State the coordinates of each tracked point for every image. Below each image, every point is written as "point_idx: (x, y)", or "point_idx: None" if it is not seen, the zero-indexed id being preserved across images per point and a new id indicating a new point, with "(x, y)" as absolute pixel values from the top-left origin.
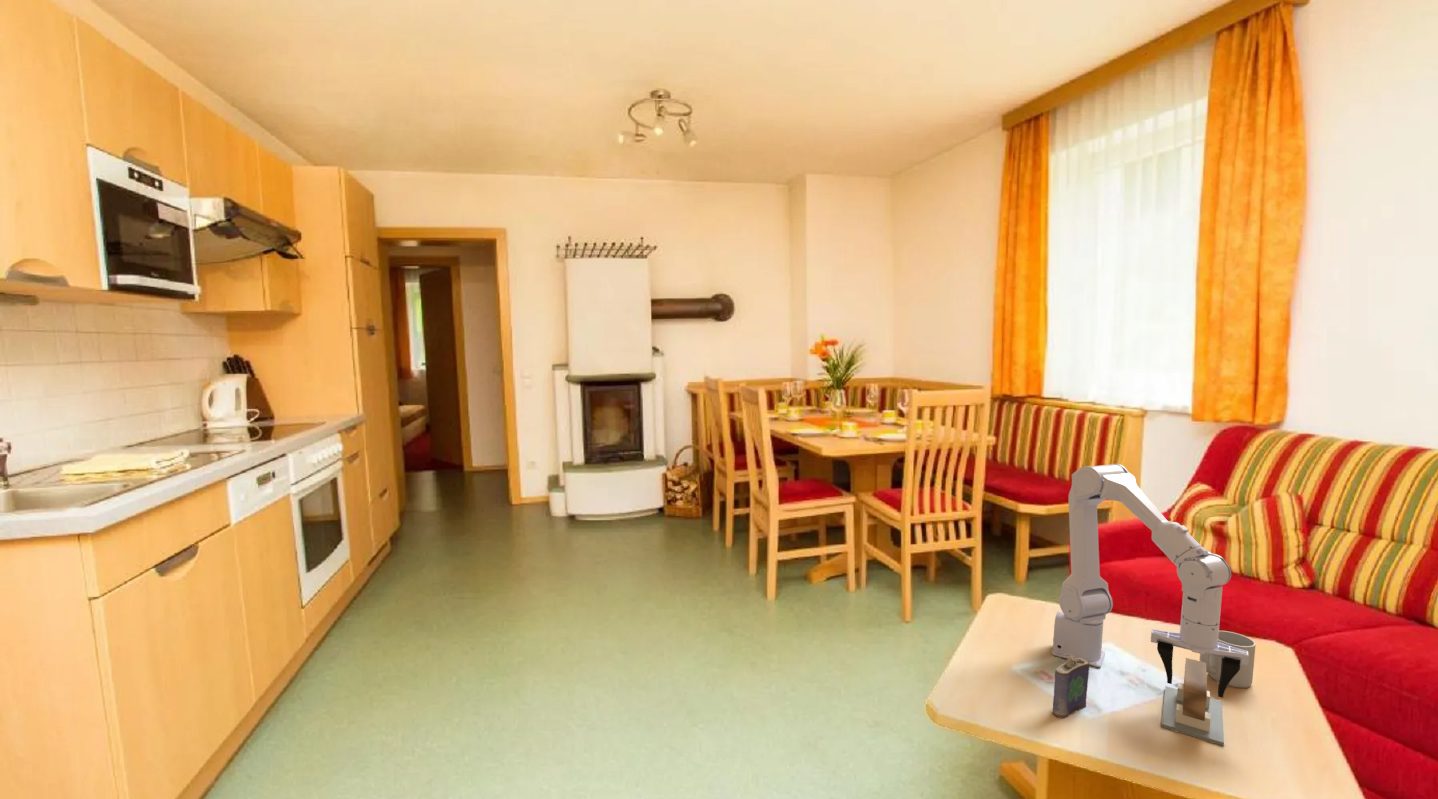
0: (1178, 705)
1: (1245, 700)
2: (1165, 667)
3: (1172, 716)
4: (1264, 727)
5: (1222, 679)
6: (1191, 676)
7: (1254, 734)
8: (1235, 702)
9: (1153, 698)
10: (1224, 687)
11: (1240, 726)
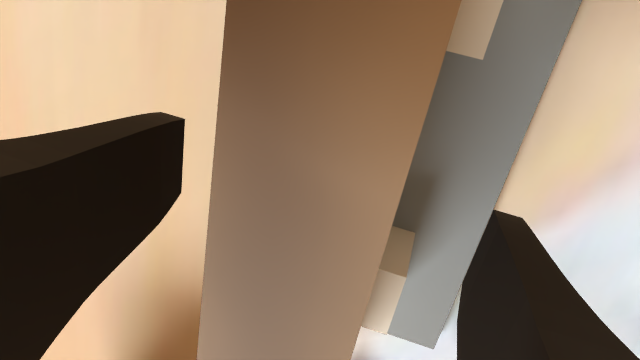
0: (479, 31)
1: (133, 315)
2: (590, 311)
3: (510, 14)
4: (77, 123)
5: (46, 155)
6: (330, 233)
7: (113, 33)
8: (166, 293)
9: (537, 233)
10: (89, 131)
11: (163, 90)
